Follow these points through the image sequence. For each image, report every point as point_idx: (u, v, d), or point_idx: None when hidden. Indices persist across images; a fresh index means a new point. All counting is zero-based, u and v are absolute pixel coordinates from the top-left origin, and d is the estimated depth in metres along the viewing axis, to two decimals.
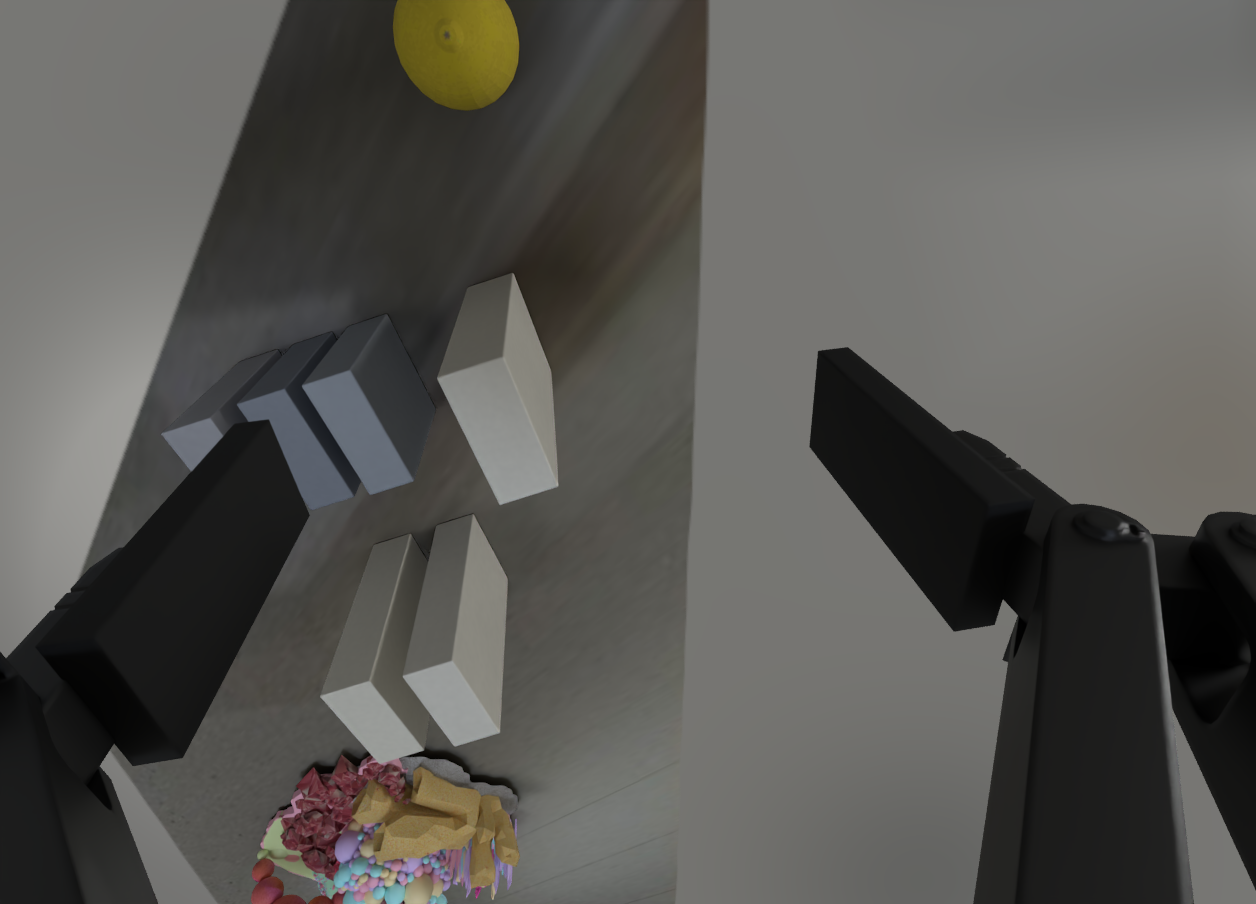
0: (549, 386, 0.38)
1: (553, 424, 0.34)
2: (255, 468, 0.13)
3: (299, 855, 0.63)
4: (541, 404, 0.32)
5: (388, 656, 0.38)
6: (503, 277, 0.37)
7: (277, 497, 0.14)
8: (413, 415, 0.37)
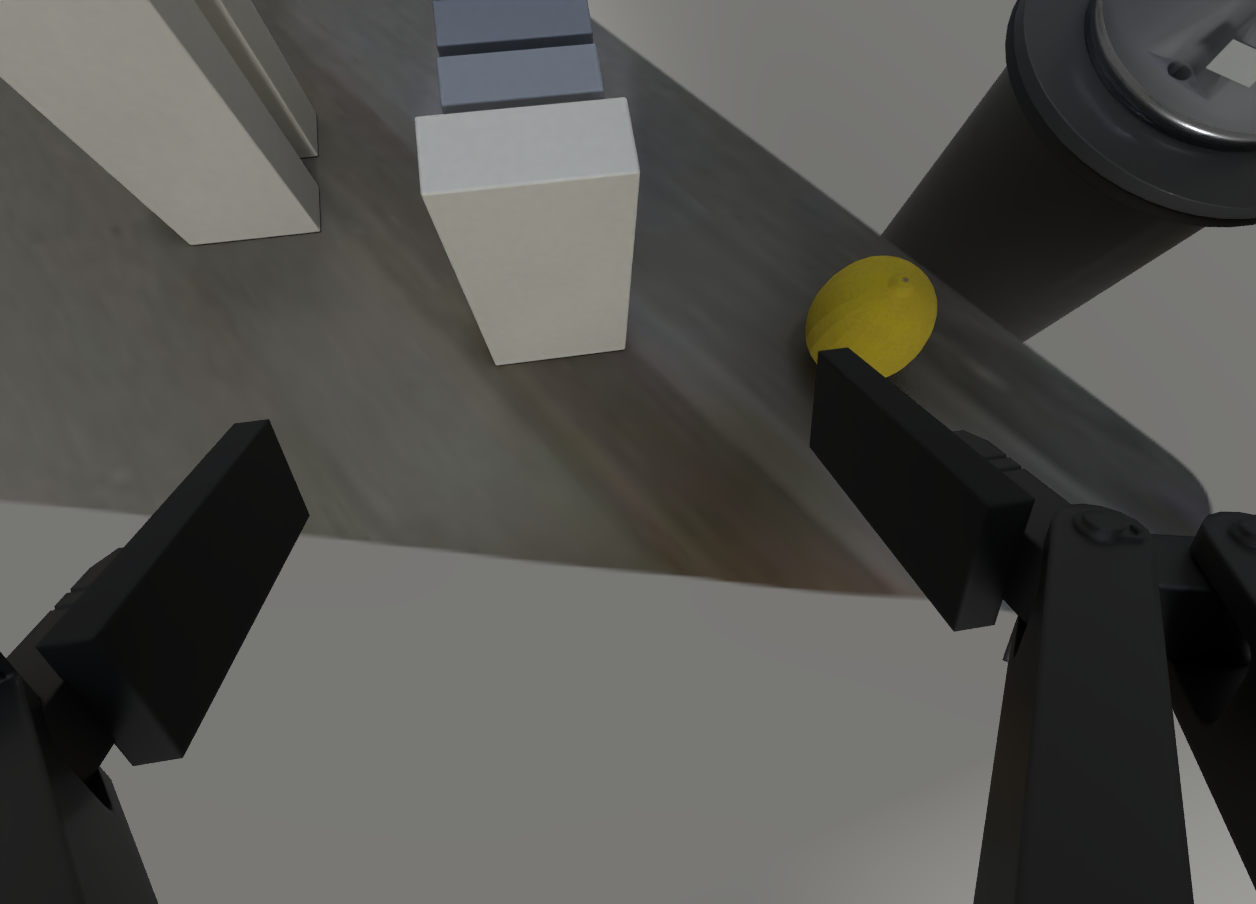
0: (497, 333, 0.29)
1: (469, 288, 0.25)
2: (255, 468, 0.13)
3: None
4: (513, 266, 0.24)
5: None
6: None
7: (277, 497, 0.14)
8: None
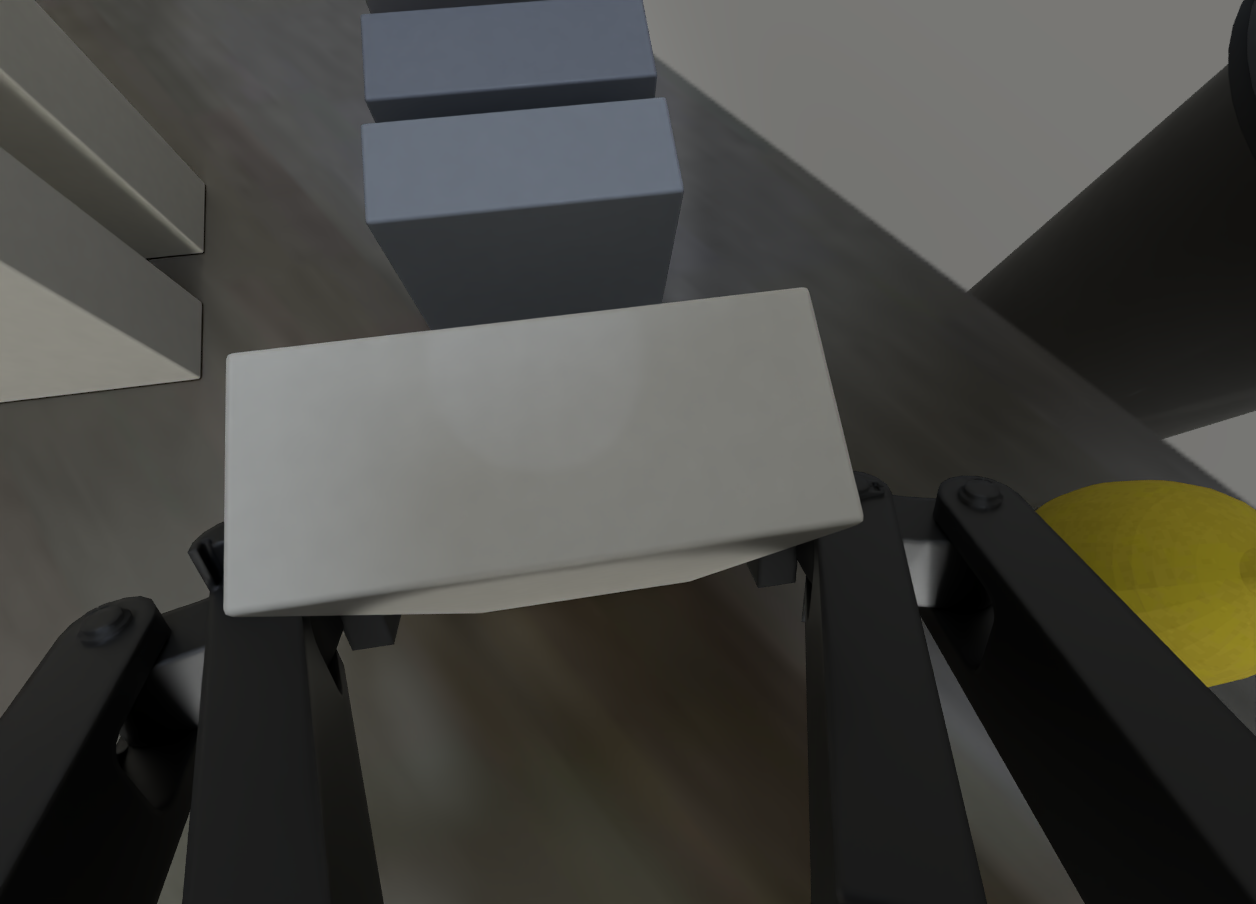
0: None
1: (416, 612, 0.12)
2: None
3: None
4: (506, 595, 0.11)
5: None
6: None
7: None
8: (489, 313, 0.18)
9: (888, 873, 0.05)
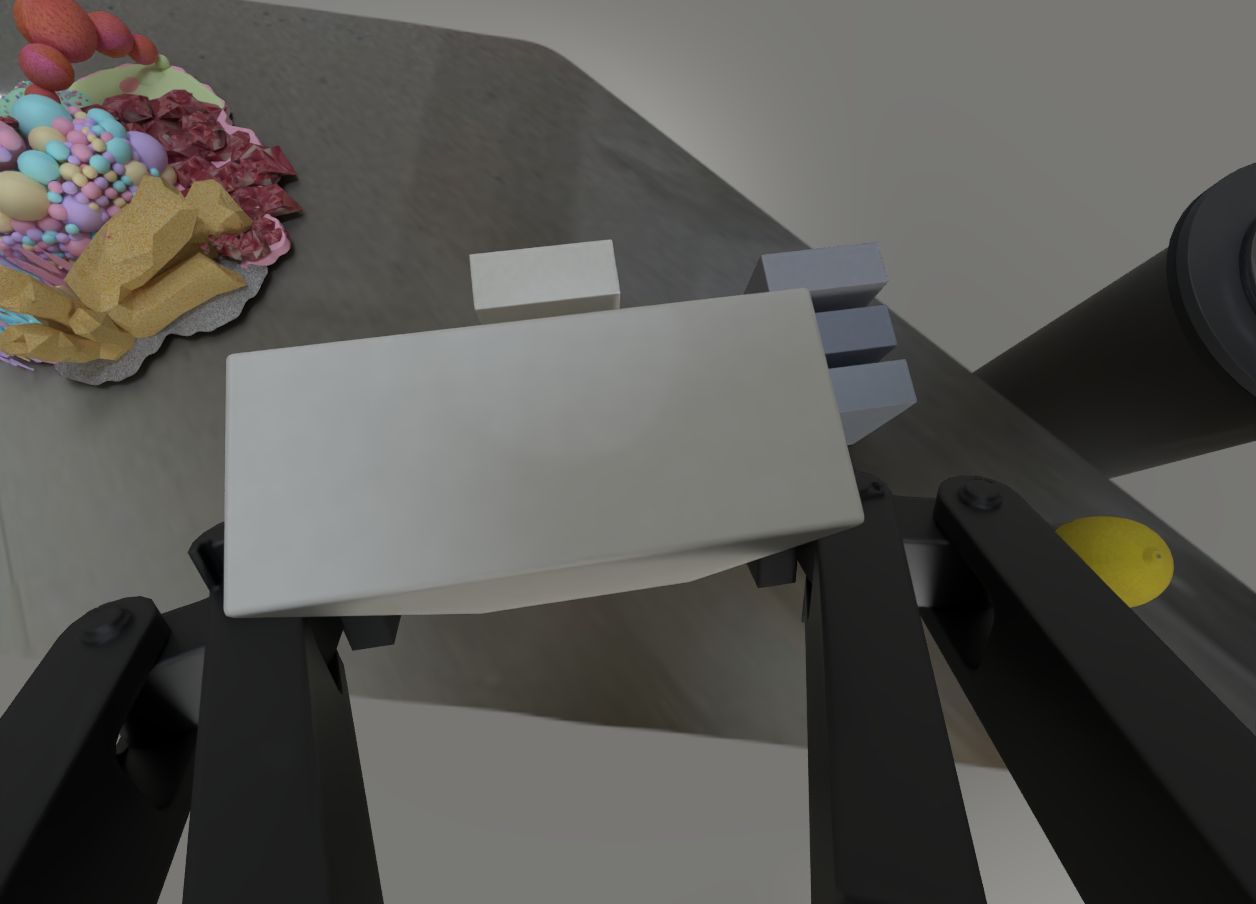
0: (478, 610, 0.16)
1: (416, 613, 0.12)
2: None
3: (130, 94, 0.46)
4: (507, 596, 0.11)
5: None
6: None
7: None
8: None
9: (888, 872, 0.05)
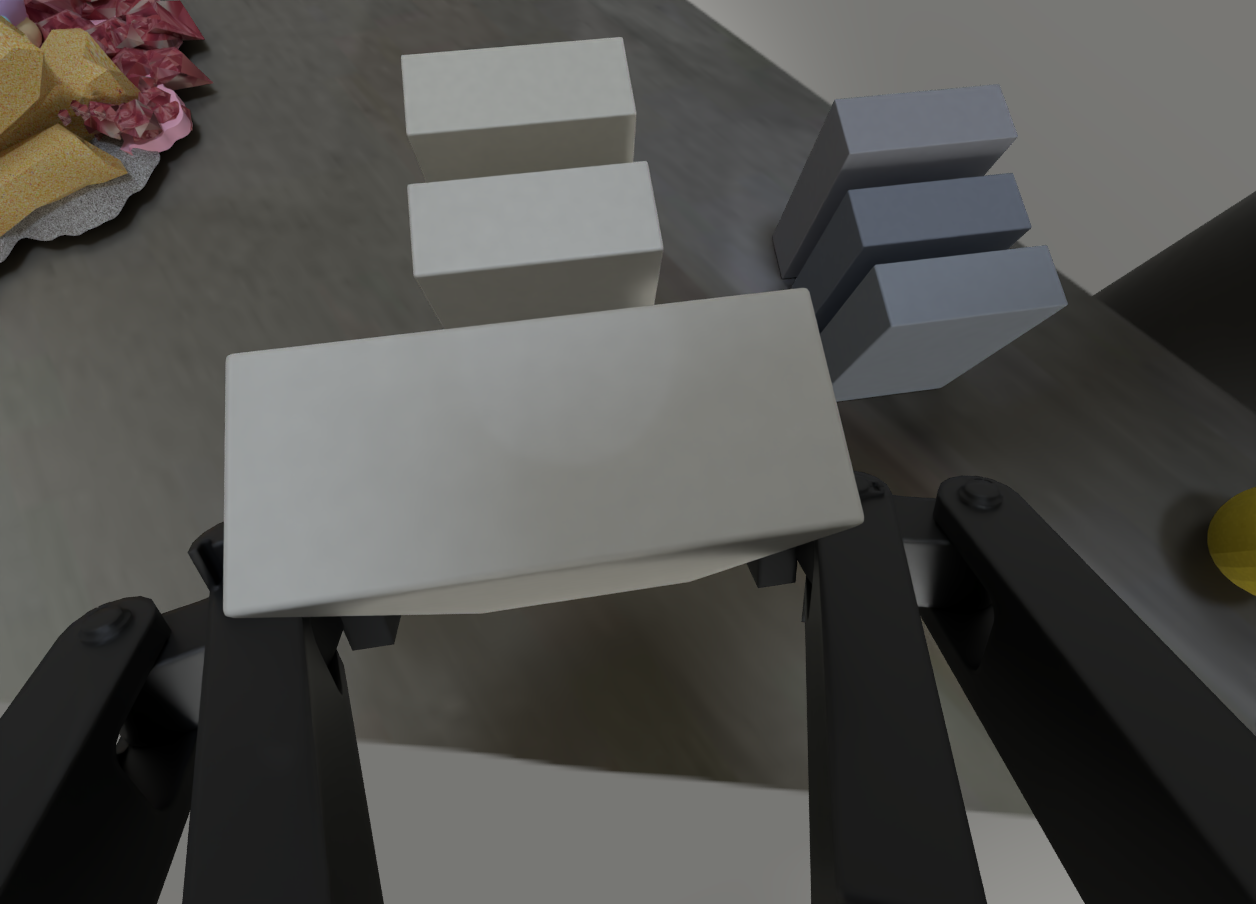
0: (478, 610, 0.16)
1: (416, 613, 0.12)
2: None
3: None
4: (506, 596, 0.11)
5: None
6: None
7: None
8: (884, 367, 0.27)
9: (888, 873, 0.05)
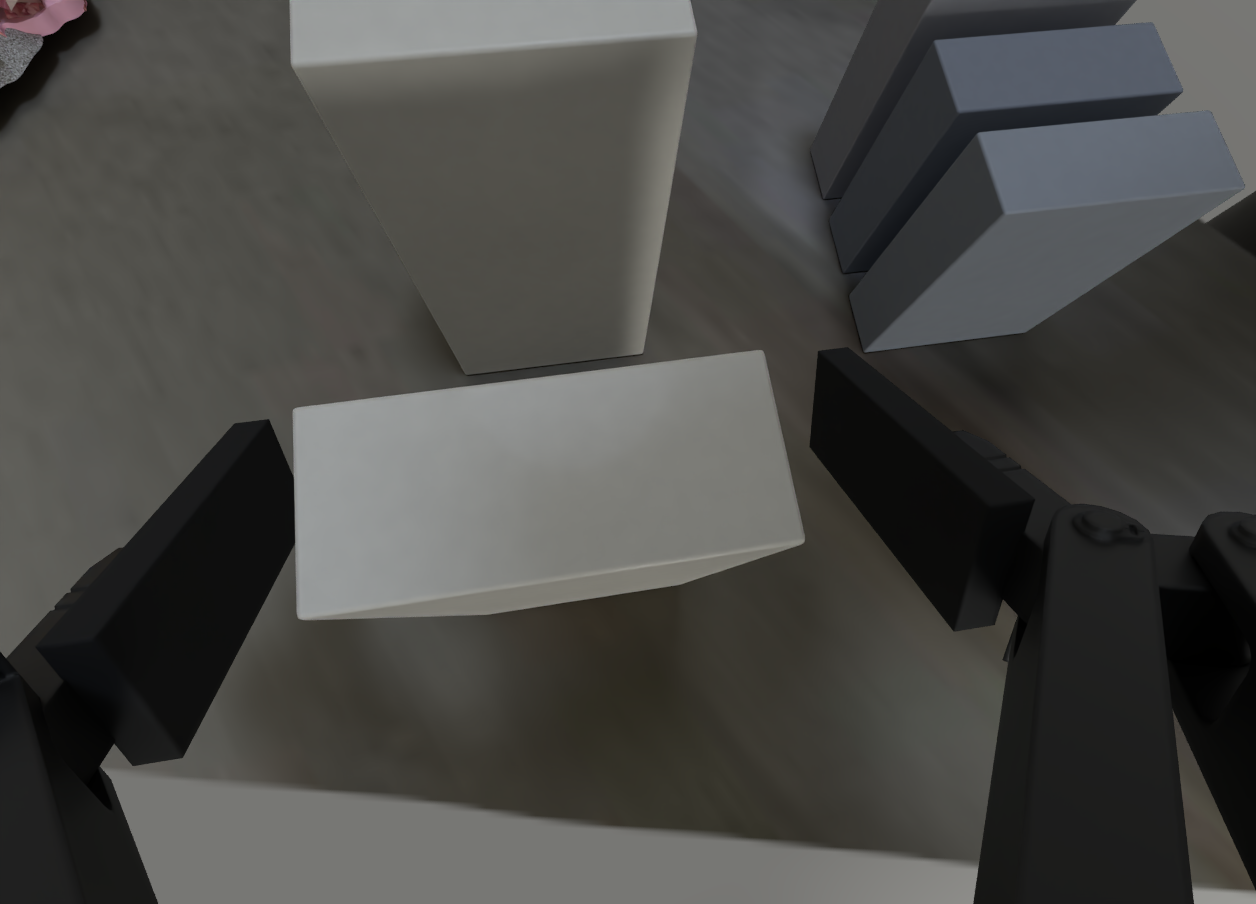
0: None
1: (434, 615, 0.14)
2: (255, 469, 0.13)
3: None
4: (514, 600, 0.13)
5: None
6: None
7: (277, 497, 0.14)
8: (970, 293, 0.21)
9: None
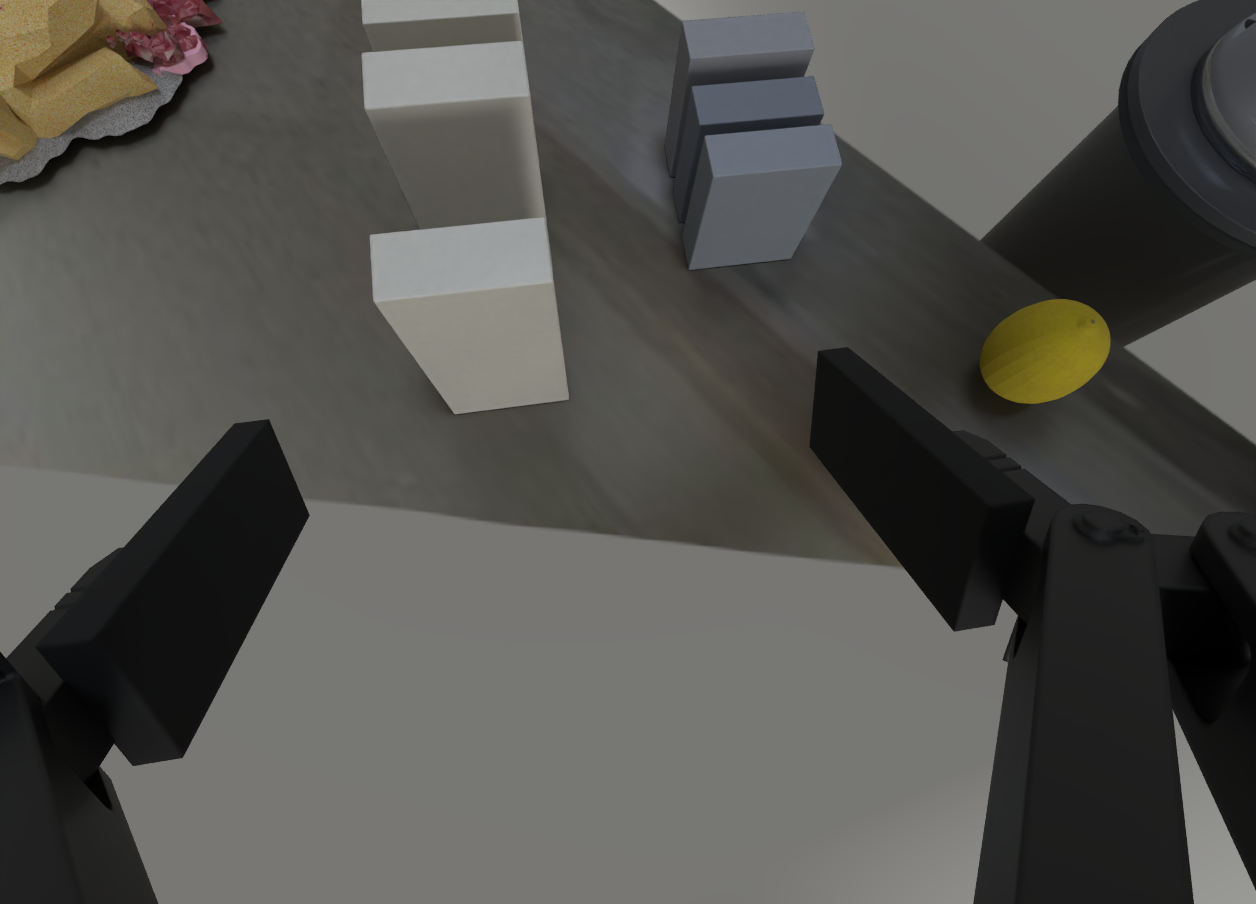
0: (451, 391, 0.34)
1: (422, 361, 0.29)
2: (255, 469, 0.13)
3: None
4: (458, 345, 0.28)
5: None
6: None
7: (277, 497, 0.14)
8: (729, 226, 0.36)
9: None
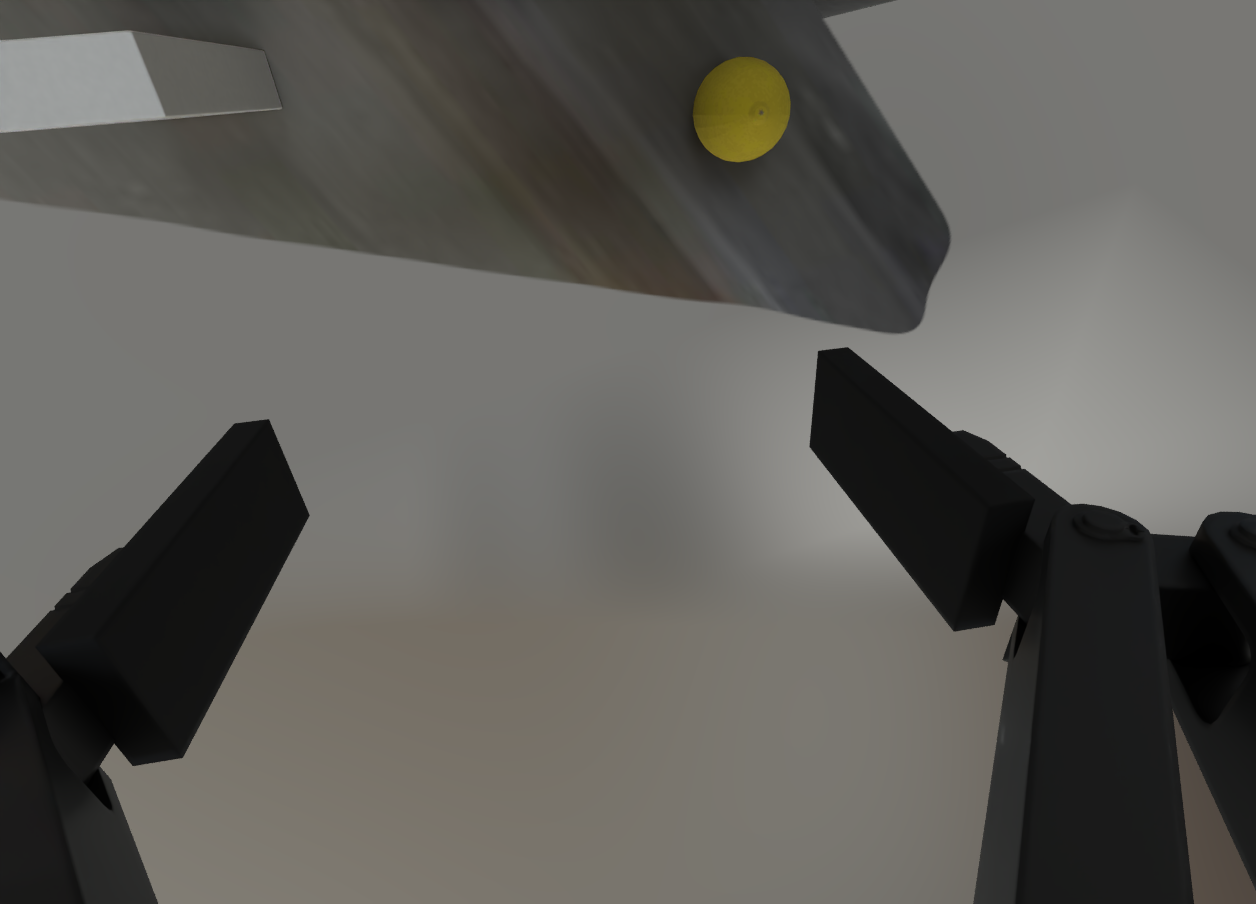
0: None
1: None
2: (255, 468, 0.13)
3: None
4: (110, 123, 0.29)
5: None
6: (276, 97, 0.36)
7: (277, 497, 0.14)
8: None
9: None
